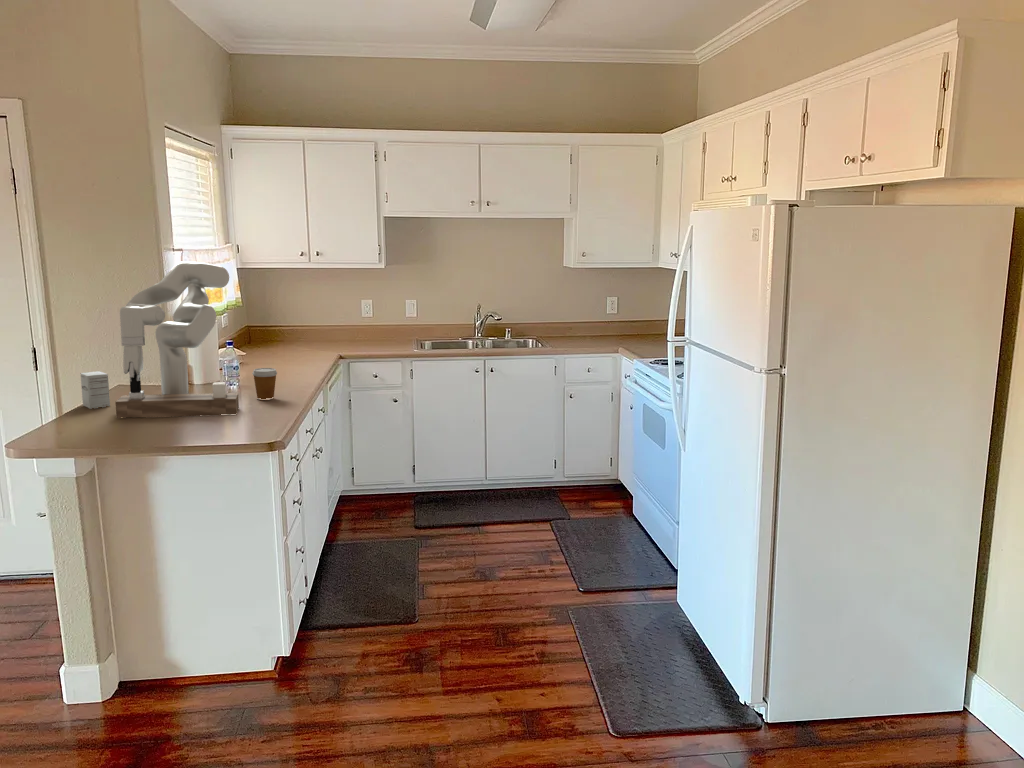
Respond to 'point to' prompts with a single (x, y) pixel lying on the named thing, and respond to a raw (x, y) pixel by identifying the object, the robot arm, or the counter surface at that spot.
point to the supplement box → (95, 389)
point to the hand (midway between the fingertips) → (135, 391)
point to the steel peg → (136, 395)
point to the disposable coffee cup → (265, 382)
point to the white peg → (219, 389)
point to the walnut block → (176, 405)
